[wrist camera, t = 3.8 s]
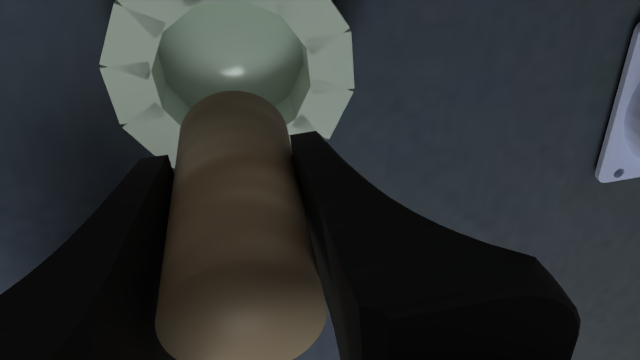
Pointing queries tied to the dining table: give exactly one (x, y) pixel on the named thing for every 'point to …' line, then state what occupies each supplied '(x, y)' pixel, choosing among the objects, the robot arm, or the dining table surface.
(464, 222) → the dining table surface
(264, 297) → the dowel
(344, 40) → the sage green bowl
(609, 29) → the dining table surface
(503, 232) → the dining table surface
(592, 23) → the dining table surface
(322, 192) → the robot arm
